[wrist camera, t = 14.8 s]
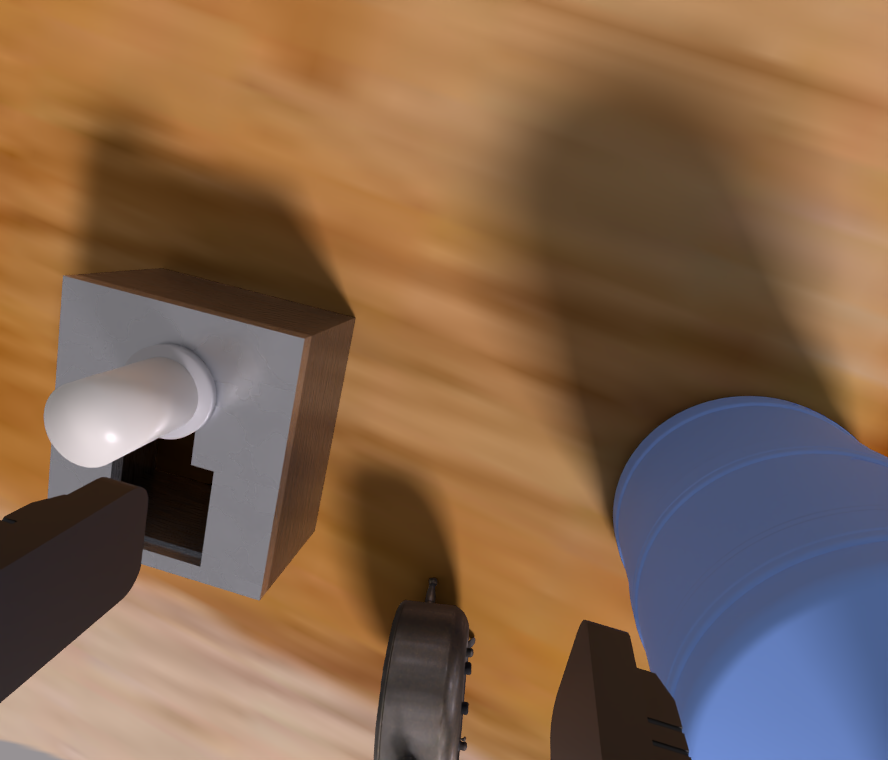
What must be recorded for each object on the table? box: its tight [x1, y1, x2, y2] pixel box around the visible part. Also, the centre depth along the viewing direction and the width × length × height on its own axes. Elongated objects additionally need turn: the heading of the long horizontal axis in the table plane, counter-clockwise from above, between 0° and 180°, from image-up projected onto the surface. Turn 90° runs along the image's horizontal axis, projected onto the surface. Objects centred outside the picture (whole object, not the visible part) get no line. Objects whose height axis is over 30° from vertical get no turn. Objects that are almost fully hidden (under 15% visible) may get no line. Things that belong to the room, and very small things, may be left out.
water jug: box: [613, 396, 888, 760], centre depth 26 cm, size 16×16×28 cm
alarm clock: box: [374, 578, 475, 760], centre depth 37 cm, size 11×5×16 cm, turn 177°
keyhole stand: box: [48, 268, 355, 600], centre depth 39 cm, size 16×14×9 cm
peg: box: [44, 343, 216, 468], centre depth 33 cm, size 5×5×10 cm
